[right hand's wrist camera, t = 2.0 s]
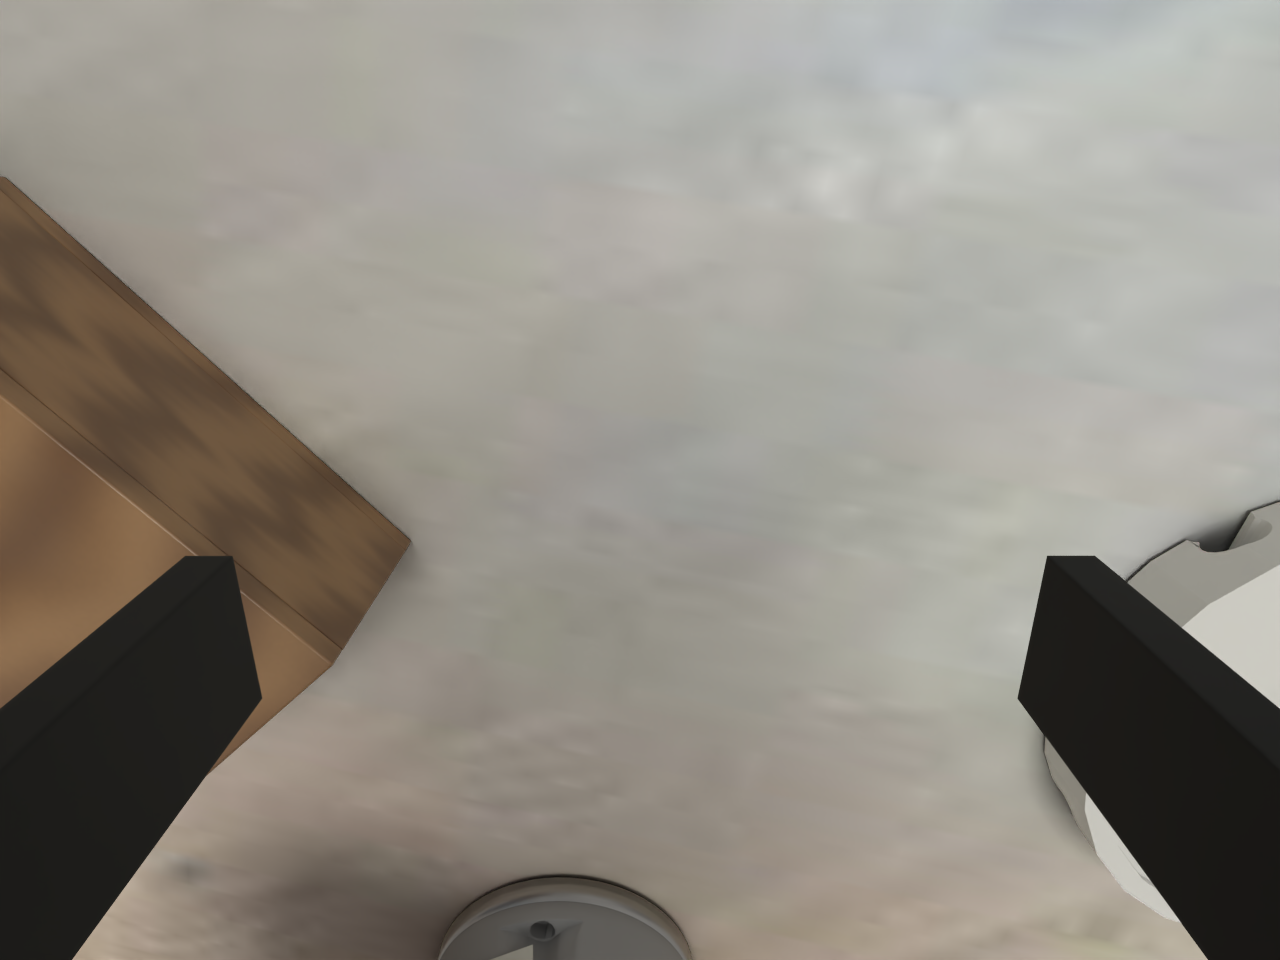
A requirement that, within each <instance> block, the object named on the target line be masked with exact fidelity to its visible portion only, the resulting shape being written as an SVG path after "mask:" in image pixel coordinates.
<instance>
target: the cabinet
mask: <svg viewBox="0 0 1280 960" xmlns="http://www.w3.org/2000/svg"><path fill="white" fill-rule="evenodd" d="M410 543H411V541H410V540H409V539H408V538H407V537H406V536H405V535H403V534H402V533H401V532H400V531H399V530H398V529H397V528H396V527H395V526H393V525H392V524H391V523H390V522H389V521H388V520H387V519H386V518H385V517H383V516H382V515H381V514H380V513H379V512H378V511H377V510H376V509H374V508H373V507H372V506H371V505H370V504H369V503H368V502H367V501H366V500H364V499H363V498H362V497H361V496H360V495H359V494H358V493H357V492H356V491H354V490H353V489H352V488H351V487H350V486H349V485H348V484H347V483H345V482H344V481H343V480H342V479H341V478H340V477H339V476H338V475H337V474H335V473H334V472H333V471H332V470H331V469H330V468H329V467H328V466H327V465H325V464H324V463H323V462H322V461H321V460H320V459H319V458H318V457H316V456H315V455H314V454H313V453H312V452H311V451H310V450H309V449H308V448H306V447H305V446H304V445H303V444H302V443H301V442H300V441H299V440H297V439H296V438H295V437H294V436H293V435H292V434H291V433H290V432H289V431H287V430H286V429H285V428H284V427H283V426H282V425H281V424H280V423H279V422H277V421H276V420H275V419H274V418H273V417H272V416H271V415H270V414H268V413H267V412H266V411H265V410H264V409H263V408H262V407H261V406H260V405H258V404H257V403H256V402H255V401H254V400H253V399H252V398H251V397H250V396H248V395H247V394H246V393H245V392H244V391H243V390H242V389H241V388H239V387H238V386H237V385H236V384H235V383H234V382H233V381H232V380H231V379H229V378H228V377H227V376H226V375H225V374H224V373H223V372H222V371H221V370H219V369H218V368H217V367H216V366H215V365H214V364H213V363H212V362H210V361H209V360H208V359H207V358H206V357H205V356H204V355H203V354H202V353H200V352H199V351H198V350H197V349H196V348H195V347H194V346H193V345H192V344H190V343H189V342H188V341H187V340H186V339H185V338H184V337H183V336H181V335H180V334H179V333H178V332H177V331H176V330H175V329H174V328H173V327H171V326H170V325H169V324H168V323H167V322H166V321H165V320H164V319H163V318H161V317H160V316H159V315H158V314H157V313H156V312H155V311H154V310H152V309H151V308H150V307H149V306H148V305H147V304H146V303H145V302H144V301H142V300H141V299H140V298H139V297H138V296H137V295H136V294H135V293H134V292H132V291H131V290H130V289H129V288H128V287H127V286H126V285H125V284H123V283H122V282H121V281H120V280H119V279H118V278H117V277H116V276H115V275H113V274H112V273H111V272H110V271H109V270H108V269H107V268H106V267H104V266H103V265H102V264H101V263H100V262H99V261H98V260H97V259H96V258H94V257H93V256H92V255H91V254H90V253H89V252H88V251H87V250H86V249H84V248H83V247H82V246H81V245H80V244H79V243H78V242H77V241H75V240H74V239H73V238H72V237H71V236H70V235H69V234H68V233H67V232H65V231H64V230H63V229H62V228H61V227H60V226H59V225H58V224H57V223H55V222H54V221H53V220H52V219H51V218H50V217H49V216H48V215H46V214H45V213H44V212H43V211H42V210H41V209H40V208H39V207H38V206H36V205H35V204H34V203H33V202H32V201H31V200H30V199H29V198H28V197H26V196H25V195H24V194H23V193H22V192H21V191H20V190H19V189H17V188H16V187H15V186H14V185H13V184H12V183H11V182H10V181H9V180H7V179H6V178H5V177H0V708H1V707H3V706H4V705H5V704H6V703H8V702H9V701H10V700H11V699H12V698H14V697H15V696H16V695H17V694H18V693H20V692H21V691H22V690H23V689H25V688H26V687H27V686H28V685H29V684H31V683H32V682H33V681H34V680H35V679H37V678H38V677H39V676H40V675H41V674H43V673H44V672H45V671H46V670H48V669H49V668H50V667H51V666H52V665H54V664H55V663H56V662H57V661H58V660H60V659H61V658H62V657H63V656H64V655H66V654H67V653H68V652H69V651H71V650H72V649H73V648H74V647H75V646H77V645H78V644H79V643H80V642H81V641H83V640H84V639H85V638H86V637H88V636H89V635H90V634H91V633H92V632H94V631H95V630H96V629H97V628H98V627H100V626H101V625H102V624H103V623H104V622H106V621H107V620H108V619H109V618H111V617H112V616H113V615H114V614H115V613H117V612H118V611H119V610H120V609H121V608H123V607H124V606H125V605H126V604H128V603H129V602H130V601H131V600H132V599H134V598H135V597H136V596H137V595H138V594H140V593H141V592H142V591H143V590H144V589H146V588H147V587H148V586H149V585H151V584H152V583H153V582H154V581H155V580H157V579H158V578H159V577H160V576H161V575H163V574H164V573H165V572H166V571H167V570H169V569H170V568H171V567H172V566H174V565H175V564H176V563H177V562H178V561H180V560H181V559H182V558H183V557H184V556H233V559H234V564H235V569H236V574H237V579H238V584H239V588H240V593H241V598H242V603H243V608H244V612H245V617H246V622H247V627H248V632H249V636H250V641H251V646H252V651H253V656H254V661H255V665H256V670H257V675H258V680H259V685H260V689H261V694H262V700H261V701H260V702H259V704H258V705H257V707H256V708H255V709H254V711H253V712H252V713H251V715H250V716H249V718H248V719H247V720H246V722H245V723H244V724H243V726H242V727H241V728H240V730H239V731H238V733H237V734H236V735H235V737H234V738H233V739H232V741H231V742H230V744H229V745H228V746H227V748H226V749H225V750H224V752H223V753H222V755H221V756H220V757H219V759H218V760H217V761H216V763H215V764H214V766H213V767H212V768H211V770H210V771H209V772H208V774H209V773H210V772H211V771H212V770H213V769H215V768H216V767H217V766H218V765H219V764H220V763H221V762H223V761H224V760H225V759H226V758H227V757H228V756H229V755H231V754H232V753H233V752H234V751H235V750H236V749H237V748H239V747H240V746H241V745H242V744H243V743H244V742H245V741H247V740H248V739H249V738H250V737H251V736H252V735H253V734H255V733H256V732H257V731H258V730H259V729H260V728H261V727H263V726H264V725H265V724H266V723H267V722H268V721H269V720H271V719H272V718H273V717H274V716H275V715H276V714H277V713H279V712H280V711H281V710H282V709H283V708H284V707H285V706H287V705H288V704H289V703H290V702H291V701H292V700H293V699H295V698H296V697H297V696H298V695H299V694H300V693H301V692H302V691H304V690H305V689H306V688H307V687H308V686H309V685H310V684H312V683H313V682H314V681H315V680H316V679H317V678H318V677H320V676H321V675H322V674H323V673H324V672H325V671H326V670H328V669H329V668H330V667H331V666H332V665H333V664H334V662H335V661H336V659H337V657H338V656H339V654H340V653H341V651H342V650H343V649H344V647H345V645H346V644H347V642H348V641H349V639H350V638H351V636H352V634H353V633H354V631H355V630H356V628H357V626H358V625H359V623H360V622H361V620H362V619H363V617H364V615H365V614H366V612H367V611H368V609H369V608H370V606H371V604H372V603H373V601H374V600H375V598H376V597H377V595H378V593H379V592H380V590H381V589H382V587H383V585H384V584H385V582H386V581H387V579H388V578H389V576H390V574H391V573H392V571H393V570H394V568H395V567H396V565H397V563H398V562H399V560H400V559H401V557H402V556H403V554H404V552H405V551H406V549H407V547H408V546H409V544H410ZM208 774H207V775H208ZM207 775H206V776H207Z"/></svg>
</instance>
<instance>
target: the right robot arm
mask: <svg viewBox="0 0 1280 960" xmlns="http://www.w3.org/2000/svg"><path fill="white" fill-rule="evenodd" d="M261 700H262V694H261V689H260V685H259V680H258V675H257V670H256V665H255V661H254V656H253V651H252V646H251V641H250V636H249V632H248V627H247V622H246V617H245V612H244V608H243V603H242V598H241V593H240V588H239V584H238V579H237V574H236V569H235V564H234V559H233V556H184V557H183V558H182V559H181V560H180V561H178V562H177V563H176V564H175V565H174V566H172V567H171V568H170V569H169V570H167V571H166V572H165V573H164V574H163V575H161V576H160V577H159V578H158V579H157V580H155V581H154V582H153V583H152V584H151V585H149V586H148V587H147V588H146V589H144V590H143V591H142V592H141V593H140V594H138V595H137V596H136V597H135V598H134V599H132V600H131V601H130V602H129V603H128V604H126V605H125V606H124V607H123V608H121V609H120V610H119V611H118V612H117V613H115V614H114V615H113V616H112V617H111V618H109V619H108V620H107V621H106V622H104V623H103V624H102V625H101V626H100V627H98V628H97V629H96V630H95V631H94V632H92V633H91V634H90V635H89V636H88V637H86V638H85V639H84V640H83V641H81V642H80V643H79V644H78V645H77V646H75V647H74V648H73V649H72V650H71V651H69V652H68V653H67V654H66V655H64V656H63V657H62V658H61V659H60V660H58V661H57V662H56V663H55V664H54V665H52V666H51V667H50V668H49V669H48V670H46V671H45V672H44V673H43V674H41V675H40V676H39V677H38V678H37V679H35V680H34V681H33V682H32V683H31V684H29V685H28V686H27V687H26V688H25V689H23V690H22V691H21V692H20V693H18V694H17V695H16V696H15V697H14V698H12V699H11V700H10V701H9V702H8V703H6V704H5V705H4V706H3V707H1V708H0V960H72V959H73V958H74V956H75V955H76V953H77V952H78V951H79V949H80V948H81V947H82V945H83V944H84V942H85V941H86V940H87V938H88V937H89V936H90V934H91V933H92V931H93V930H94V929H95V927H96V926H97V925H98V923H99V922H100V920H101V919H102V918H103V916H104V915H105V914H106V912H107V911H108V910H109V908H110V907H111V905H112V904H113V903H114V901H115V900H116V899H117V897H118V896H119V894H120V893H121V892H122V890H123V889H124V888H125V886H126V885H127V883H128V882H129V881H130V879H131V878H132V877H133V875H134V874H135V872H136V871H137V870H138V868H139V867H140V866H141V864H142V863H143V862H144V860H145V859H146V857H147V856H148V855H149V853H150V852H151V851H152V849H153V848H154V846H155V845H156V844H157V842H158V841H159V840H160V838H161V837H162V835H163V834H164V833H165V831H166V830H167V829H168V827H169V826H170V824H171V823H172V822H173V820H174V819H175V818H176V816H177V815H178V814H179V812H180V811H181V809H182V808H183V807H184V805H185V804H186V803H187V801H188V800H189V798H190V797H191V796H192V794H193V793H194V792H195V790H196V789H197V787H198V786H199V785H200V783H201V782H202V781H203V779H204V778H205V776H206V775H207V774H208V772H209V771H210V770H211V768H212V767H213V766H214V764H215V763H216V761H217V760H218V759H219V757H220V756H221V755H222V753H223V752H224V750H225V749H226V748H227V746H228V745H229V744H230V742H231V741H232V739H233V738H234V737H235V735H236V734H237V733H238V731H239V730H240V728H241V727H242V726H243V724H244V723H245V722H246V720H247V719H248V718H249V716H250V715H251V713H252V712H253V711H254V709H255V708H256V707H257V705H258V704H259V702H260V701H261ZM1018 700H1019V701H1020V702H1021V704H1022V705H1023V707H1024V708H1025V709H1026V711H1027V712H1028V713H1029V715H1030V716H1031V718H1032V719H1033V720H1034V722H1035V723H1036V724H1037V726H1038V727H1039V728H1040V730H1041V731H1042V733H1043V734H1044V735H1045V737H1046V738H1047V739H1048V741H1049V742H1050V744H1051V745H1052V746H1053V748H1054V749H1055V750H1056V752H1057V753H1058V755H1059V756H1060V757H1061V759H1062V760H1063V761H1064V763H1065V764H1066V766H1067V767H1068V768H1069V770H1070V771H1071V772H1072V774H1073V775H1074V776H1075V778H1076V779H1077V781H1078V782H1079V783H1080V785H1081V786H1082V787H1083V789H1084V790H1085V792H1086V793H1087V794H1088V796H1089V797H1090V798H1091V800H1092V801H1093V803H1094V804H1095V805H1096V807H1097V808H1098V809H1099V811H1100V812H1101V814H1102V815H1103V816H1104V818H1105V819H1106V820H1107V822H1108V823H1109V824H1110V826H1111V827H1112V829H1113V830H1114V831H1115V833H1116V834H1117V835H1118V837H1119V838H1120V840H1121V841H1122V842H1123V844H1124V845H1125V846H1126V848H1127V849H1128V851H1129V852H1130V853H1131V855H1132V856H1133V857H1134V859H1135V860H1136V862H1137V863H1138V864H1139V866H1140V867H1141V868H1142V870H1143V871H1144V872H1145V874H1146V875H1147V877H1148V878H1149V879H1150V881H1151V882H1152V883H1153V885H1154V886H1155V888H1156V889H1157V890H1158V892H1159V893H1160V894H1161V896H1162V897H1163V899H1164V900H1165V901H1166V903H1167V904H1168V905H1169V907H1170V908H1171V910H1172V911H1173V912H1174V914H1175V915H1176V916H1177V918H1178V919H1179V920H1180V922H1181V923H1182V925H1183V926H1184V927H1185V929H1186V930H1187V931H1188V933H1189V934H1190V936H1191V937H1192V938H1193V940H1194V941H1195V942H1196V944H1197V945H1198V947H1199V948H1200V949H1201V951H1202V952H1203V953H1204V955H1205V956H1206V958H1207V959H1208V960H1280V708H1279V707H1277V706H1276V705H1275V704H1274V703H1272V702H1271V701H1270V700H1269V699H1268V698H1266V697H1265V696H1264V695H1263V694H1262V693H1260V692H1259V691H1258V690H1257V689H1255V688H1254V687H1253V686H1252V685H1251V684H1249V683H1248V682H1247V681H1246V680H1245V679H1243V678H1242V677H1241V676H1240V675H1239V674H1237V673H1236V672H1235V671H1234V670H1232V669H1231V668H1230V667H1229V666H1228V665H1226V664H1225V663H1224V662H1223V661H1222V660H1220V659H1219V658H1218V657H1217V656H1216V655H1214V654H1213V653H1212V652H1211V651H1209V650H1208V649H1207V648H1206V647H1205V646H1203V645H1202V644H1201V643H1200V642H1199V641H1197V640H1196V639H1195V638H1194V637H1192V636H1191V635H1190V634H1189V633H1188V632H1186V631H1185V630H1184V629H1183V628H1182V627H1180V626H1179V625H1178V624H1177V623H1176V622H1174V621H1173V620H1172V619H1171V618H1169V617H1168V616H1167V615H1166V614H1165V613H1163V612H1162V611H1161V610H1160V609H1159V608H1157V607H1156V606H1155V605H1154V604H1152V603H1151V602H1150V601H1149V600H1148V599H1146V598H1145V597H1144V596H1143V595H1142V594H1140V593H1139V592H1138V591H1137V590H1136V589H1134V588H1133V587H1132V586H1131V585H1129V584H1128V583H1127V582H1126V581H1125V580H1123V579H1122V578H1121V577H1120V576H1119V575H1117V574H1116V573H1115V572H1114V571H1113V570H1111V569H1110V568H1109V567H1108V566H1106V565H1105V564H1104V563H1103V562H1102V561H1100V560H1099V559H1098V558H1097V557H1096V556H1047V559H1046V564H1045V569H1044V574H1043V579H1042V584H1041V588H1040V593H1039V598H1038V603H1037V608H1036V612H1035V617H1034V622H1033V627H1032V632H1031V636H1030V641H1029V646H1028V651H1027V656H1026V661H1025V665H1024V670H1023V675H1022V680H1021V685H1020V689H1019V694H1018ZM438 960H692V957H691V953H690V950H689V947H688V944H687V942H686V940H685V938H684V936H683V935H682V933H681V932H680V930H679V929H678V927H677V926H676V925H675V924H674V922H673V921H672V920H671V919H670V918H669V917H668V916H667V915H666V914H665V913H664V912H663V911H661V910H660V909H659V908H657V907H656V906H655V905H653V904H652V903H650V902H649V901H647V900H646V899H644V898H642V897H640V896H638V895H636V894H634V893H632V892H630V891H627V890H625V889H623V888H620V887H617V886H614V885H611V884H607V883H603V882H599V881H593V880H588V879H579V878H560V877H557V878H542V879H534V880H528V881H524V882H519V883H515V884H512V885H509V886H506V887H503V888H500V889H498V890H495V891H493V892H491V893H489V894H487V895H485V896H484V897H482V898H480V899H479V900H477V901H475V902H474V903H473V904H471V905H470V906H469V907H467V908H466V909H465V910H464V911H463V912H462V913H461V914H460V915H459V916H458V917H457V918H456V920H455V921H454V922H453V923H452V925H451V926H450V928H449V929H448V931H447V933H446V935H445V937H444V939H443V942H442V945H441V948H440V952H439V956H438Z"/></svg>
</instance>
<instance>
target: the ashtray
mask: <svg viewBox="0 0 1280 960" xmlns="http://www.w3.org/2000/svg"><path fill="white" fill-rule="evenodd" d="M1127 583H1128V584H1129V585H1131V586H1132V587H1133V588H1134V589H1136V590H1137V591H1138V592H1139V593H1140V594H1142V595H1143V596H1144V597H1145V598H1146V599H1148V600H1149V601H1150V602H1151V603H1152V604H1154V605H1155V606H1156V607H1157V608H1159V609H1160V610H1161V611H1162V612H1163V613H1165V614H1166V615H1167V616H1168V617H1169V618H1171V619H1172V620H1173V621H1174V622H1176V623H1177V624H1178V625H1179V626H1180V627H1182V628H1183V629H1184V630H1185V631H1186V632H1188V633H1189V634H1190V635H1191V636H1192V637H1194V638H1195V639H1196V640H1197V641H1199V642H1200V643H1201V644H1202V645H1203V646H1205V647H1206V648H1207V649H1208V650H1209V651H1211V652H1212V653H1213V654H1214V655H1216V656H1217V657H1218V658H1219V659H1220V660H1222V661H1223V662H1224V663H1225V664H1226V665H1228V666H1229V667H1230V668H1231V669H1232V670H1234V671H1235V672H1236V673H1237V674H1239V675H1240V676H1241V677H1242V678H1243V679H1245V680H1246V681H1247V682H1248V683H1249V684H1251V685H1252V686H1253V687H1254V688H1255V689H1257V690H1258V691H1259V692H1260V693H1262V694H1263V695H1264V696H1265V697H1266V698H1268V699H1269V700H1270V701H1271V702H1272V703H1274V704H1275V705H1276V706H1277V707H1279V708H1280V502H1278V503H1275V504H1272V505H1269V506H1266V507H1263V508H1261V509H1258V510H1255V511H1252V512H1250V514H1249V516H1248V517H1247V519H1246V521H1245V522H1244V524H1243V526H1242V527H1241V529H1240V531H1239V532H1238V534H1237V536H1236V537H1235V539H1234V541H1233V542H1232V544H1231V546H1230V547H1229V549H1228V550H1227V551H1223V552H1206V551H1203V550H1202V549H1201V548H1200V547H1199V542H1191V541H1189V540H1186V541H1184V542H1183V543H1181V544H1179V545H1178V546H1176V547H1174V548H1172V549H1171V550H1169V551H1167V552H1166V553H1164V554H1162V555H1160V556H1159V557H1157V558H1155V559H1154V560H1152V561H1151V562H1149V563H1148V564H1147V565H1146V566H1145V567H1144V568H1143V569H1142V570H1141V571H1139V572H1138V573H1137V574H1136V575H1135V576H1134V577H1133V578H1132V579H1130V580H1129V581H1128V582H1127ZM1044 753H1045V756H1046V759H1047V763H1048V766H1049V770H1050V773H1051V777H1052V778H1053V780H1054V782H1055V784H1056V786H1057V787H1058V788H1059V789H1060V790H1061V792H1062V793H1063V795H1064V796H1065V798H1066V800H1067V802H1068V804H1069V807H1070V809H1071V811H1072V813H1071V814H1072V816H1073V817H1074V819H1075V821H1076V824H1077V825H1078V827H1079V828H1080V830H1081V831H1082V833H1083V834H1084V836H1085V837H1086V839H1087V840H1088V842H1089V843H1090V845H1091V846H1092V848H1093V849H1094V851H1095V852H1096V854H1097V855H1098V857H1099V858H1100V859H1101V861H1102V862H1103V863H1104V865H1105V866H1106V867H1107V869H1108V870H1109V871H1110V873H1111V874H1112V875H1113V877H1114V878H1115V879H1116V881H1117V882H1118V883H1119V885H1120V886H1121V887H1122V889H1123V890H1124V891H1125V892H1127V893H1128V894H1130V895H1131V896H1133V897H1134V898H1136V899H1137V900H1139V901H1140V902H1142V903H1143V904H1144V905H1146V906H1147V907H1149V908H1150V909H1152V910H1153V911H1155V912H1156V913H1158V914H1159V915H1161V916H1162V917H1164V918H1167V919H1170V920H1173V921H1176V922H1179V923H1181V922H1180V920H1179V919H1178V918H1177V916H1176V915H1175V914H1174V912H1173V911H1172V910H1171V908H1170V907H1169V905H1168V904H1167V903H1166V901H1165V900H1164V899H1163V897H1162V896H1161V894H1160V893H1159V892H1158V890H1157V889H1156V888H1155V886H1154V885H1153V883H1152V882H1151V881H1150V879H1149V878H1148V877H1147V875H1146V874H1145V872H1144V871H1143V870H1142V868H1141V867H1140V866H1139V864H1138V863H1137V862H1136V860H1135V859H1134V857H1133V856H1132V855H1131V853H1130V852H1129V851H1128V849H1127V848H1126V846H1125V845H1124V844H1123V842H1122V841H1121V840H1120V838H1119V837H1118V835H1117V834H1116V833H1115V831H1114V830H1113V829H1112V827H1111V826H1110V824H1109V823H1108V822H1107V820H1106V819H1105V818H1104V816H1103V815H1102V814H1101V812H1100V811H1099V809H1098V808H1097V807H1096V805H1095V804H1094V803H1093V801H1092V800H1091V798H1090V797H1089V796H1088V794H1087V793H1086V792H1085V790H1084V789H1083V787H1082V786H1081V785H1080V783H1079V782H1078V781H1077V779H1076V778H1075V776H1074V775H1073V774H1072V772H1071V771H1070V770H1069V768H1068V767H1067V766H1066V764H1065V763H1064V761H1063V760H1062V759H1061V757H1060V756H1059V755H1058V753H1057V752H1056V750H1055V749H1054V748H1053V746H1052V745H1051V744H1050V742H1049V741H1048V739H1047V738H1046V737H1045V750H1044Z"/></svg>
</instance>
